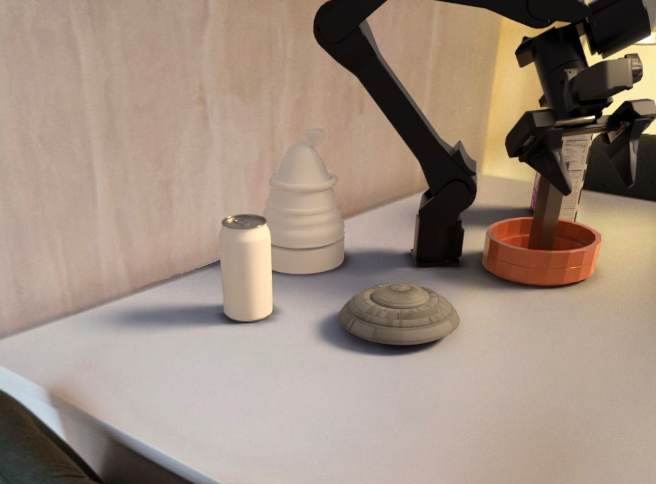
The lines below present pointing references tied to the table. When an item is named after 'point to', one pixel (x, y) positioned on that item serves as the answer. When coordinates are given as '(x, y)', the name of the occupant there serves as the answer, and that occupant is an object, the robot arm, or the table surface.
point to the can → (246, 267)
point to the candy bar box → (571, 174)
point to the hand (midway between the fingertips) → (600, 190)
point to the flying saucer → (399, 314)
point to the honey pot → (304, 212)
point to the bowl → (541, 253)
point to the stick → (545, 216)
